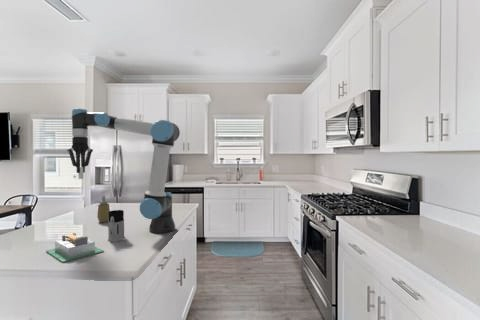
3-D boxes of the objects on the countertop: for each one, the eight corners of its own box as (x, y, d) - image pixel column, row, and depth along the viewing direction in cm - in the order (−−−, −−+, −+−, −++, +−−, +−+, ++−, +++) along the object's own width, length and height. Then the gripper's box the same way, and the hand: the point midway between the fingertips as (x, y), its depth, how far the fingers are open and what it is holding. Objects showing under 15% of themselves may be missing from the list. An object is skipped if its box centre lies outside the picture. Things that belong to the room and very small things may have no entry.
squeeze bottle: (97, 223, 185) (96, 196, 185) (97, 221, 192) (96, 195, 192) (110, 222, 189) (110, 195, 189) (110, 219, 196) (109, 194, 196)
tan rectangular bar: (65, 238, 134) (65, 233, 134) (72, 236, 136) (71, 232, 136) (76, 243, 125) (76, 238, 125) (83, 241, 127) (83, 236, 127)
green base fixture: (46, 251, 131) (45, 235, 130) (84, 242, 144) (84, 227, 143) (62, 263, 116) (62, 244, 116) (103, 252, 130) (103, 235, 129)
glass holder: (126, 236, 155) (126, 209, 155) (120, 244, 141) (119, 214, 141) (110, 237, 154) (109, 210, 153) (102, 245, 140) (101, 215, 139)
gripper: (89, 137, 163) (90, 177, 163) (64, 136, 153) (65, 179, 153) (95, 137, 158) (95, 178, 159) (69, 135, 148) (70, 179, 148)
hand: (80, 178), depth 156 cm, fingers closed
